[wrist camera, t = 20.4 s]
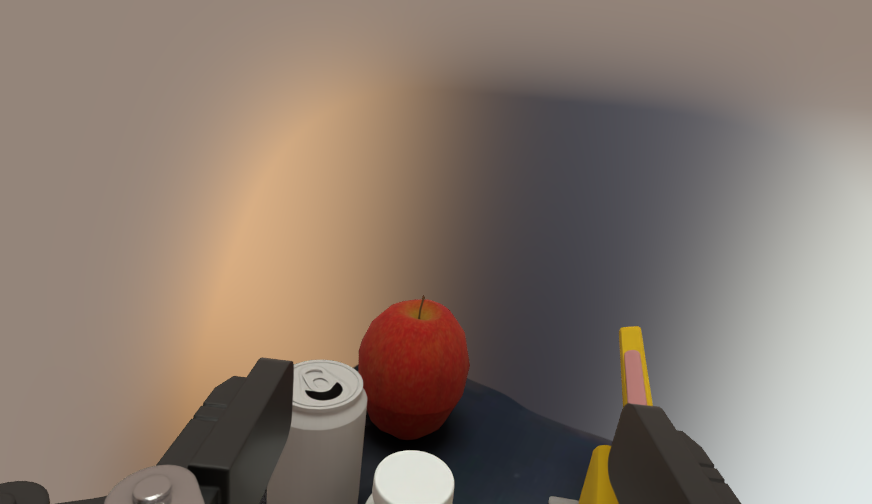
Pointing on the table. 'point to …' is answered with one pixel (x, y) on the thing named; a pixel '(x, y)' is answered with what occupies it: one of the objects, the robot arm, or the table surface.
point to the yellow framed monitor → (597, 488)
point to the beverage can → (322, 437)
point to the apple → (413, 368)
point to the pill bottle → (412, 480)
